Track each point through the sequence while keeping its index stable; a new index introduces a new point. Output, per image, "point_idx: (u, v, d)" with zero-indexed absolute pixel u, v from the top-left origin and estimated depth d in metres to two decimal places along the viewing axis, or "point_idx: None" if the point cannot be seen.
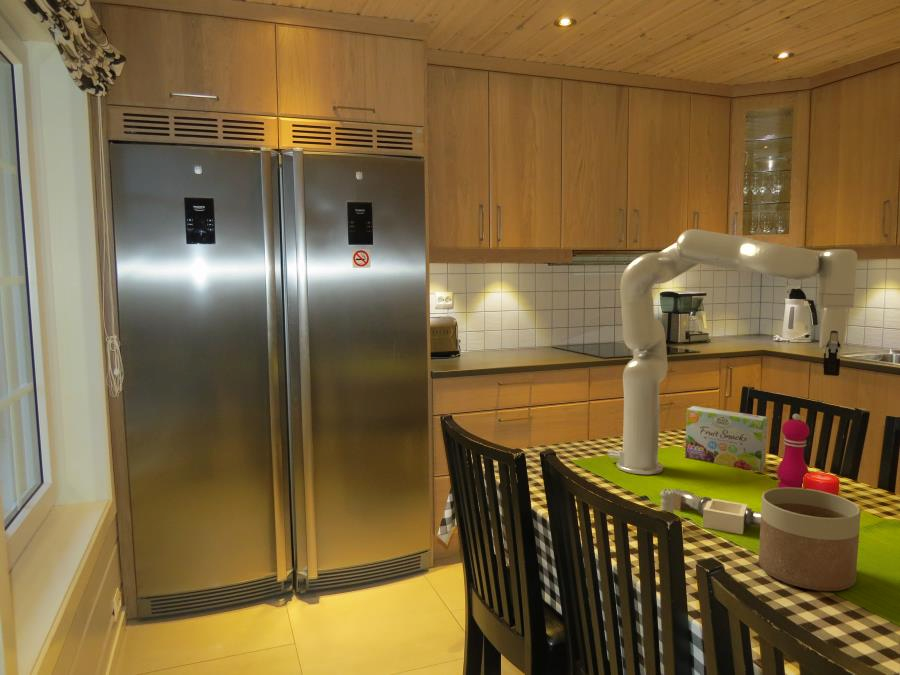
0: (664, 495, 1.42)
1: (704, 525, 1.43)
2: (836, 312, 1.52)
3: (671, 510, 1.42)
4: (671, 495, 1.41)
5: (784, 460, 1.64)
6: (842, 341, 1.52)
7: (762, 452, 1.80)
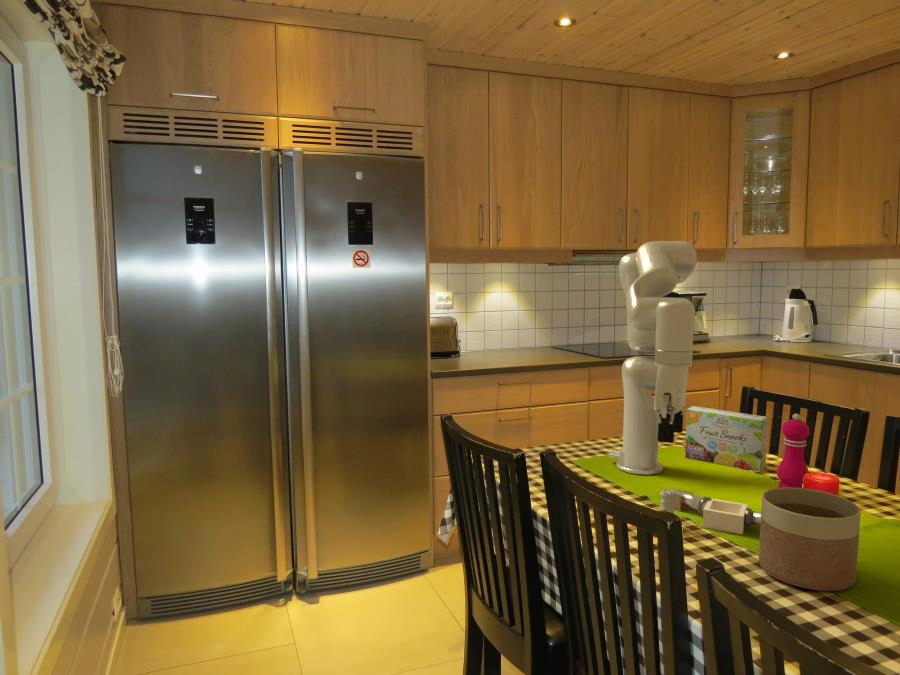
0: (664, 495, 1.42)
1: (704, 525, 1.43)
2: (669, 372, 1.36)
3: (671, 510, 1.42)
4: (671, 495, 1.41)
5: (784, 460, 1.64)
6: (676, 404, 1.35)
7: (762, 452, 1.80)
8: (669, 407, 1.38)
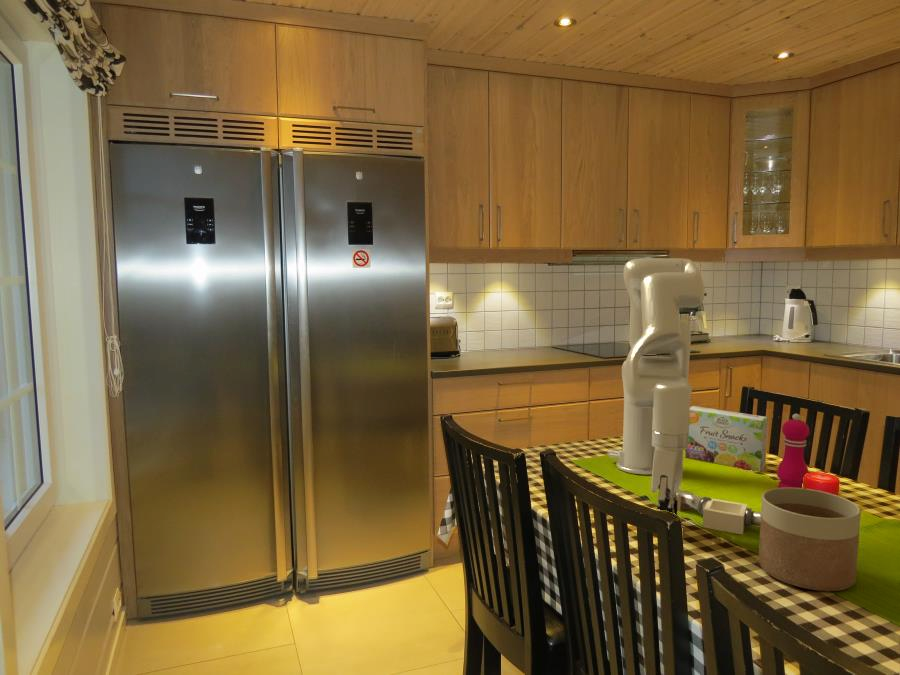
0: None
1: (704, 525, 1.43)
2: (666, 455, 1.38)
3: None
4: None
5: (784, 460, 1.64)
6: (672, 487, 1.37)
7: (762, 452, 1.80)
8: None
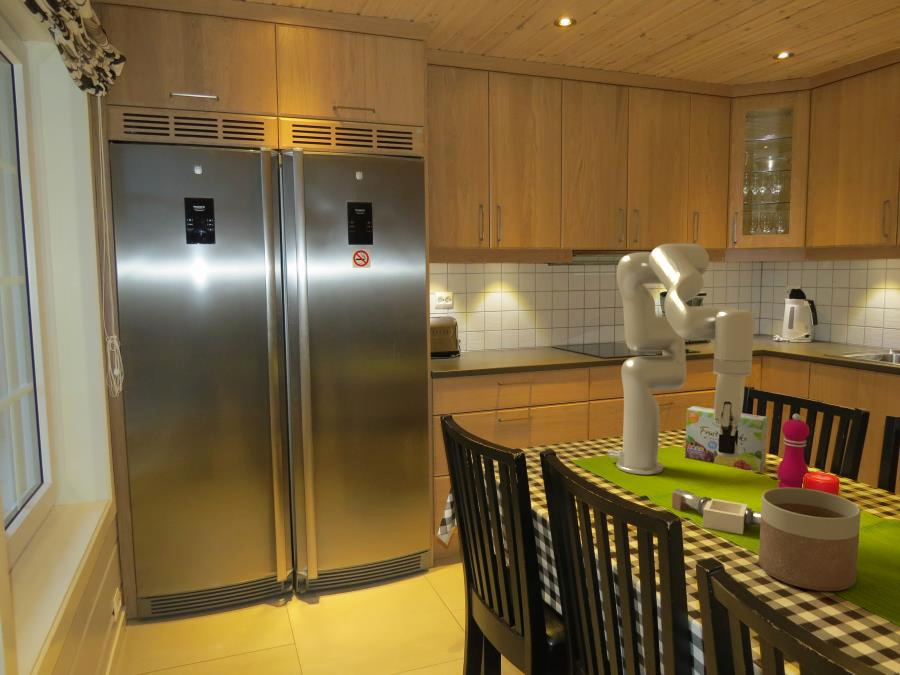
0: None
1: (704, 525, 1.43)
2: (729, 381, 1.37)
3: None
4: None
5: (784, 460, 1.64)
6: (736, 413, 1.36)
7: (762, 452, 1.80)
8: None
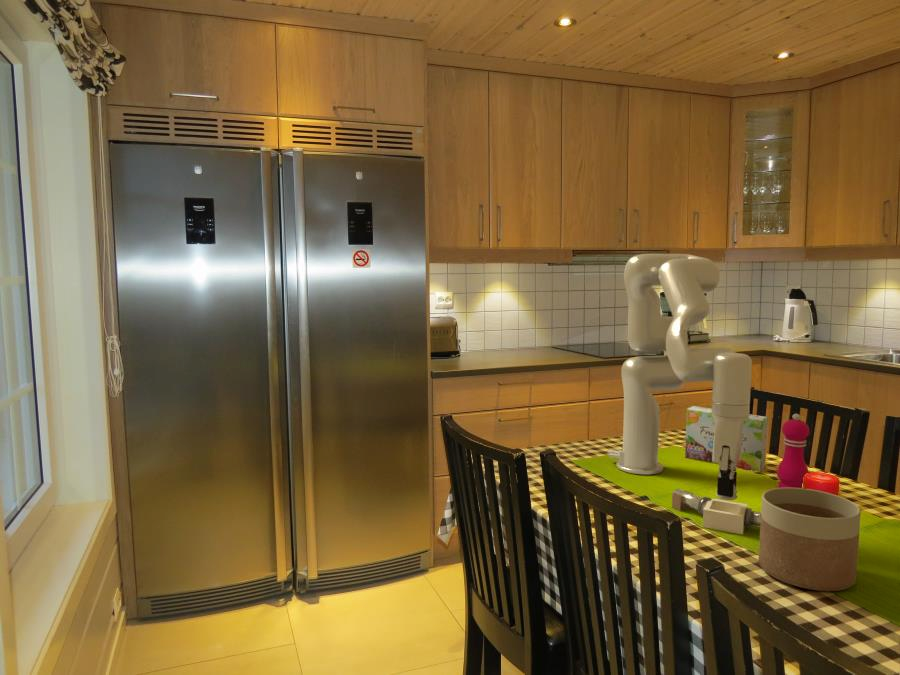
0: None
1: (704, 525, 1.43)
2: (728, 425, 1.38)
3: None
4: None
5: (784, 460, 1.64)
6: (734, 457, 1.37)
7: (762, 452, 1.80)
8: None
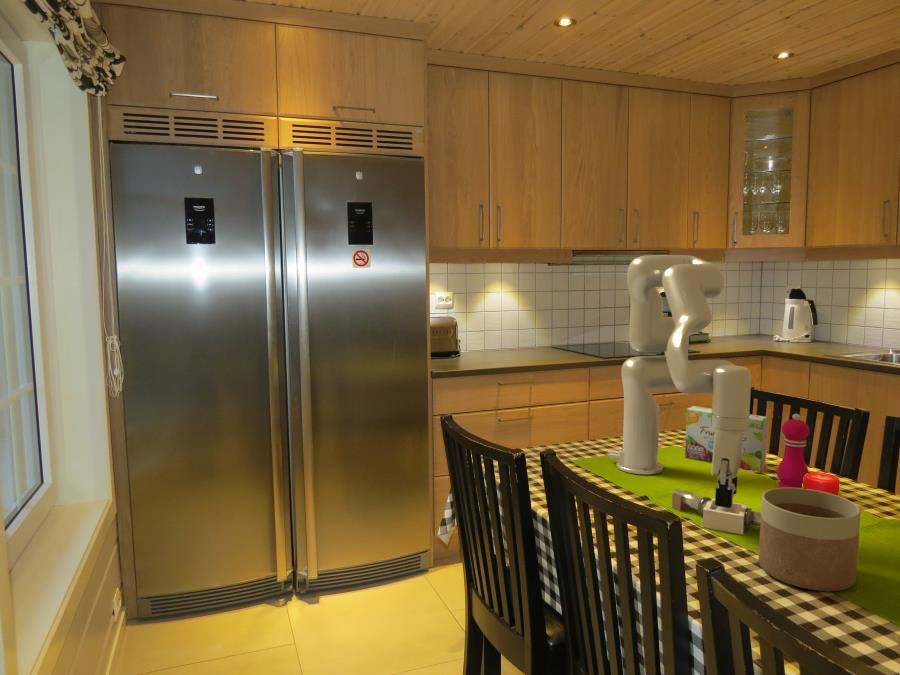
0: None
1: (704, 525, 1.43)
2: (727, 438, 1.38)
3: None
4: (732, 488, 1.42)
5: (784, 460, 1.64)
6: (734, 470, 1.38)
7: (762, 452, 1.80)
8: (726, 471, 1.40)
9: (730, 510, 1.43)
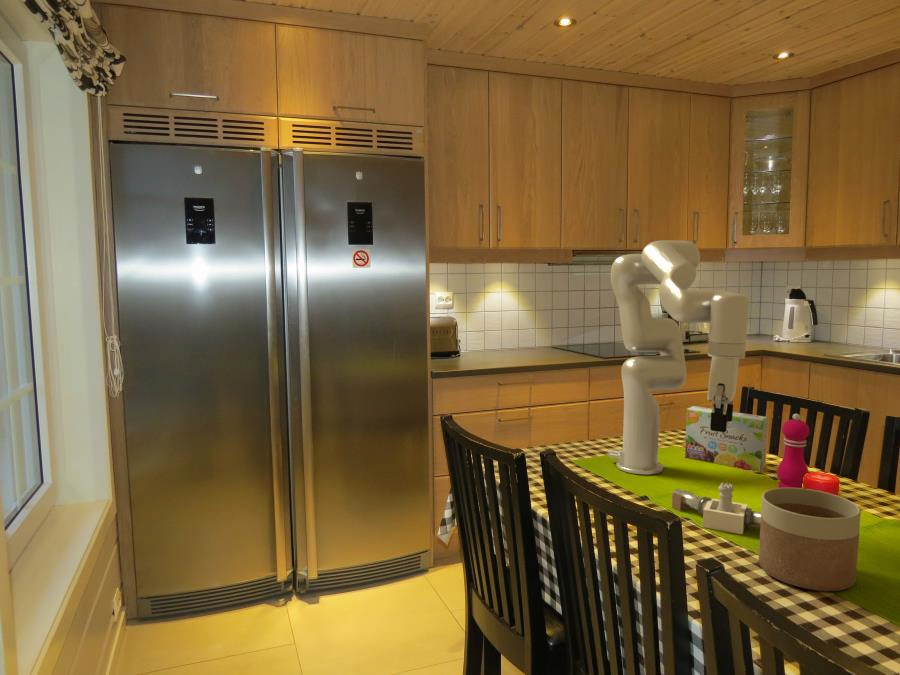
0: (723, 489, 1.42)
1: (704, 525, 1.43)
2: (723, 363, 1.39)
3: (730, 504, 1.43)
4: (730, 489, 1.42)
5: (784, 460, 1.64)
6: (729, 395, 1.39)
7: (762, 452, 1.80)
8: (722, 397, 1.42)
9: (729, 511, 1.42)
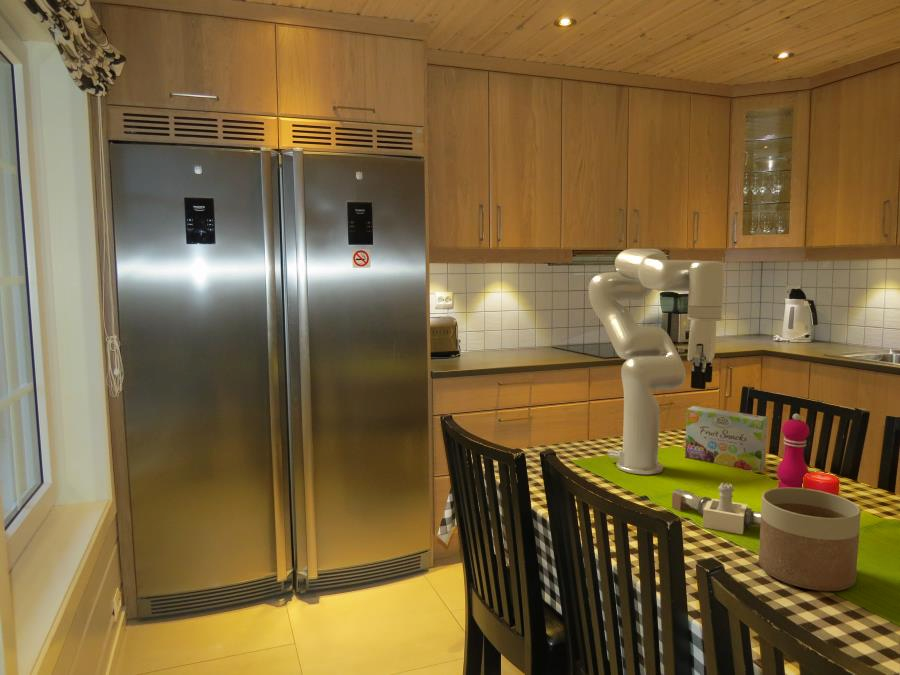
0: (723, 489, 1.42)
1: (704, 525, 1.43)
2: (701, 325, 1.50)
3: (730, 504, 1.43)
4: (730, 489, 1.42)
5: (784, 460, 1.64)
6: (707, 354, 1.50)
7: (762, 452, 1.80)
8: (701, 357, 1.52)
9: (729, 511, 1.42)
